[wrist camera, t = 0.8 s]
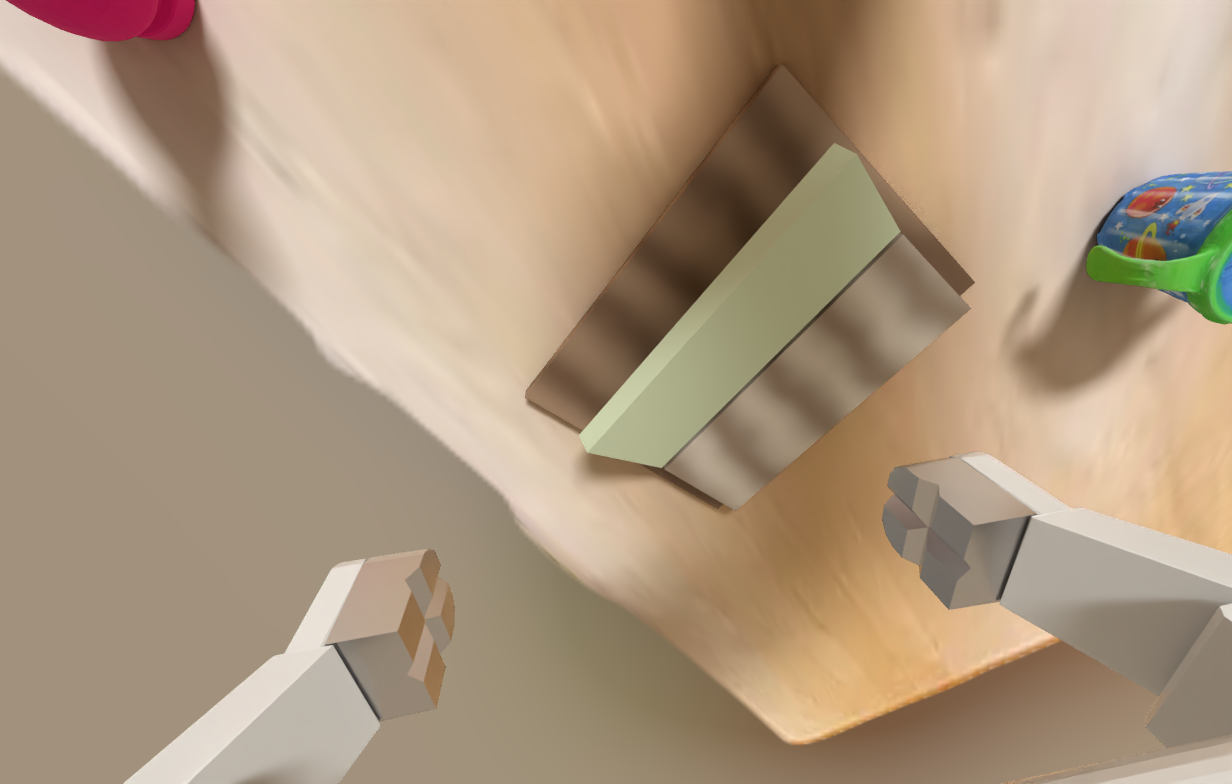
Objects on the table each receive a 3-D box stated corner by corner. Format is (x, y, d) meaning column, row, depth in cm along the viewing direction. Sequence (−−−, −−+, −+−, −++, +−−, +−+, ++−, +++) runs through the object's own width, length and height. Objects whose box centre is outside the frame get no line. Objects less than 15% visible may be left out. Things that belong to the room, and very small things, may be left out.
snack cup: (1267, 132, 37) (1482, 137, 28) (1205, 264, 42) (1369, 303, 33) (1065, 173, 37) (1213, 191, 28) (1029, 298, 43) (1145, 345, 34)
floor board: (776, 65, 32) (794, 61, 29) (965, 278, 41) (992, 289, 38) (526, 390, 44) (522, 409, 41) (715, 501, 53) (722, 522, 50)
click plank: (834, 142, 30) (856, 153, 29) (880, 219, 37) (900, 231, 35) (578, 435, 40) (587, 452, 39) (652, 452, 47) (661, 467, 46)
